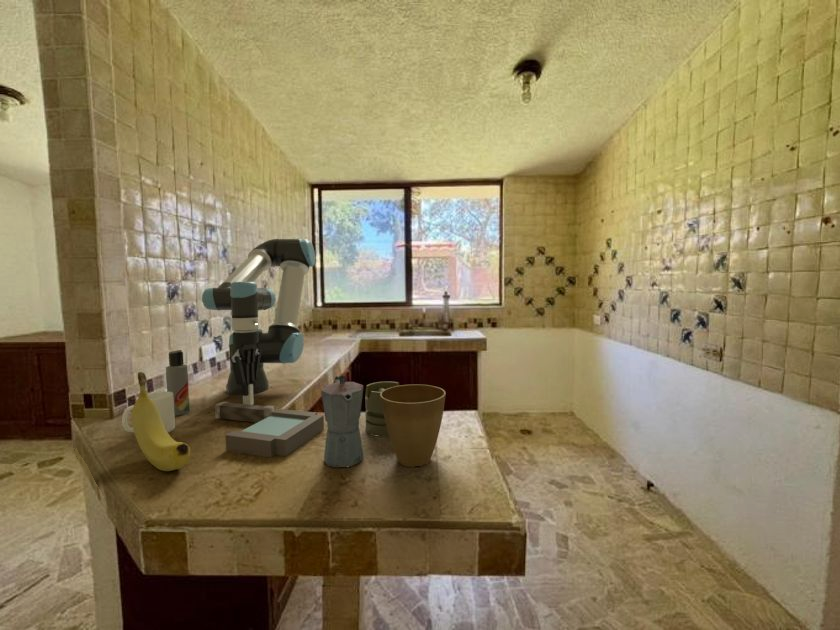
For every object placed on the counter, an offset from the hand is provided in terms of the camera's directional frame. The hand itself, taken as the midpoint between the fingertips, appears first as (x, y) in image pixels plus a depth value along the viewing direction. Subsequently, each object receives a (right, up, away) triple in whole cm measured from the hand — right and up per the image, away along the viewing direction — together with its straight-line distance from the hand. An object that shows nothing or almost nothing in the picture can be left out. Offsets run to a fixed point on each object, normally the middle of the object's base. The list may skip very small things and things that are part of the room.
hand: (248, 404), depth 117 cm
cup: (-19, -4, -16) cm, 26 cm away
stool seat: (+18, -4, -20) cm, 27 cm away
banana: (-4, -6, -34) cm, 34 cm away
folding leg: (+2, -3, -7) cm, 8 cm away
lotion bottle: (-22, -3, 0) cm, 22 cm away
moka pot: (+37, -5, -31) cm, 49 cm away
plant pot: (+53, -5, -32) cm, 62 cm away
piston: (+45, -4, -13) cm, 47 cm away
